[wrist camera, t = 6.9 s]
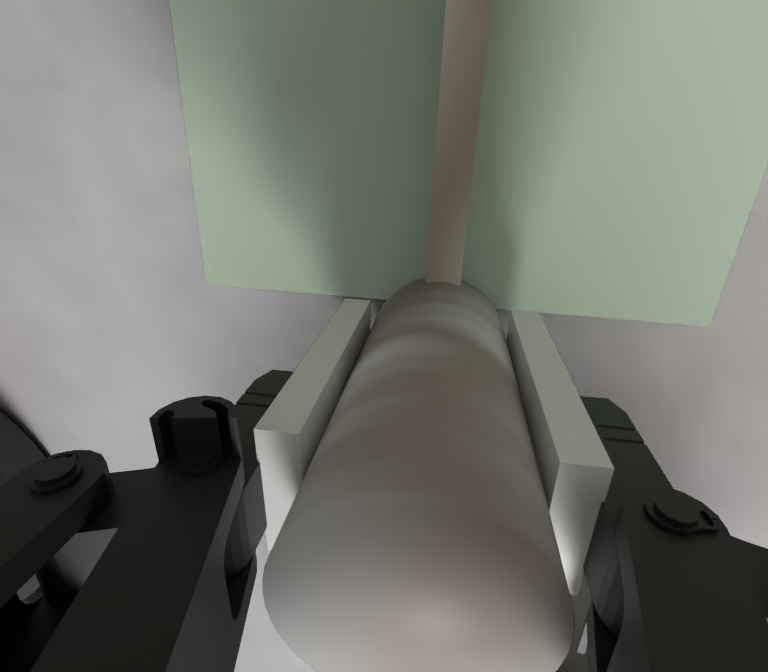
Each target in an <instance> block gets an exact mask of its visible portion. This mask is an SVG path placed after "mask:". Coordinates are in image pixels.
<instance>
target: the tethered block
mask: <svg viewBox="0 0 768 672" xmlns="http://www.w3.org/2000/svg"><path fill="white" fill-rule="evenodd" d="M491 2H492V0H446V10H445V24H444V37H443V50H442V63H441V76H440V89H439V102H438V115H437V129H436V142H435V155H434V168H433V181H432V194H431V207H430V221H429V234H428V247H427V260H426V273H425V277H424V278H420V279H417V280H414V281H411V282H409V283H407V284H405V285H403V286H401V287H400V288H399V289H397V290H396V291H395V292H394V293H393V294H391V295H390V296H389V297H388V299H387V300H386V301H385V303H384V304H383V306H382V307H381V309H380V311H379V313H378V315H377V318H376V320H375V322H374V324H373V326H372V329H371V331H370V333H369V335H368V337H367V340H366V342H365V344H364V346H363V349H362V351H361V353H360V355H359V357H358V360H357V362H356V364H355V366H354V368H353V371H352V373H351V375H350V377H349V379H348V382H347V384H346V386H345V388H344V391H343V393H342V395H341V397H340V399H339V402H338V404H337V406H336V408H335V410H334V413H333V415H332V417H331V419H330V421H329V424H328V426H327V428H326V430H325V433H324V435H323V437H322V439H321V441H320V444H319V446H318V448H317V450H316V452H315V455H314V457H313V459H312V461H311V464H310V466H309V468H308V470H307V472H306V475H305V477H304V479H303V481H302V483H301V486H300V488H299V490H298V492H297V494H296V497H295V499H294V501H293V503H292V506H291V508H290V510H289V512H288V514H287V517H286V519H285V521H284V523H283V525H282V528H281V530H280V532H279V534H278V536H277V539H276V541H275V543H274V545H273V548H272V550H271V552H270V554H269V557H268V559H267V562H266V565H265V568H264V574H263V596H264V601H265V606H266V609H267V612H268V614H269V617H270V619H271V621H272V623H273V625H274V627H275V628H276V630H277V632H278V633H279V635H280V636H281V637H282V639H283V640H284V641H285V643H286V644H287V645H288V646H289V647H290V648H291V649H292V651H293V652H294V653H295V654H296V655H297V656H298V657H300V658H301V659H302V660H303V661H304V662H305V663H306V664H308V665H309V666H310V667H312V668H313V669H314V670H316V671H317V672H556V671H557V670H558V668H559V667H560V665H561V664H562V663H563V661H564V660H565V658H566V656H567V654H568V652H569V650H570V647H571V645H572V641H573V636H574V631H575V615H574V610H573V605H572V600H571V596H570V592H569V589H568V585H567V581H566V577H565V573H564V569H563V565H562V561H561V557H560V553H559V549H558V545H557V541H556V537H555V533H554V529H553V525H552V521H551V517H550V513H549V509H548V505H547V501H546V497H545V493H544V489H543V485H542V481H541V477H540V473H539V469H538V465H537V461H536V457H535V453H534V449H533V445H532V441H531V437H530V433H529V429H528V425H527V421H526V417H525V413H524V409H523V405H522V401H521V397H520V393H519V389H518V385H517V381H516V377H515V373H514V369H513V365H512V361H511V357H510V353H509V349H508V345H507V341H506V337H505V333H504V329H503V325H502V321H501V319H500V316H499V313H498V311H497V310H496V308H495V306H494V305H493V303H492V302H491V301H490V299H489V298H488V297H487V296H486V295H485V294H484V293H483V292H481V291H480V290H479V289H478V288H476V287H474V286H473V285H471V284H469V283H467V282H464V281H462V280H461V275H462V266H463V257H464V248H465V239H466V230H467V221H468V212H469V202H470V193H471V184H472V175H473V166H474V157H475V148H476V139H477V130H478V121H479V111H480V102H481V93H482V84H483V75H484V66H485V57H486V48H487V39H488V30H489V21H490V11H491Z"/></svg>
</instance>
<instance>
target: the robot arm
mask: <svg viewBox="0 0 768 672" xmlns="http://www.w3.org/2000/svg"><path fill="white" fill-rule="evenodd" d="M370 312H371V300H359V299H345V300H344V301H343V302H342V304H341V305H340V307H339V308H338V310H337V311H336V312H335V314H334V315H333V317H332V318H331V320H330V321H329V322H328V324H327V325H326V327H325V328H324V330H323V331H322V332H321V334H320V335H319V337H318V338H317V339H316V341H315V342H314V344H313V345H312V347H311V348H310V349H309V351H308V352H307V354H306V355H305V357H304V358H303V359H302V361H301V362H300V364H299V365H298V367H297V368H296V369H295V371H294V372H290V371H279V370H271V371H270V372H268V373H266V374H264V375H263V376H261V377H259V378H257V379H256V380H255V381H254V382H253V383H252V384H251V386H250V387H249V388H248V389H247V390H246V391H245V394H243V395H242V396H241V397H240V399H239V400H238V401H237V404H236V405H233V403H232V402H231V401H228V400H226V399H224V398H221V397H213V396H199V397H190V398H186V399H183V400H179V401H176V402H173V403H171V404H169V405H167V406H165V407H163V408H161V409H159V410H158V411H157V412H156V413H155V414H154V415H153V416H152V417H151V418H149V419H150V424H151V428H152V432H153V437H154V441H155V446H156V450H157V454H158V459H159V462H158V464H157V465H156V467H155V468H149V469H142V470H133V471H124V472H115V473H109V470H108V466H107V463H106V461H105V459H104V458H103V456H102V455H101V454H99V453H96V452H93V451H91V450H73V451H67V452H62V453H58V454H54V455H52V456H50V457H47V458H46V457H45V456H44V455H43V453H42V452H41V451H40V450H39V448H38V447H37V446H36V445H35V444H34V443H33V442H32V440H31V439H30V438H29V437H28V436H27V435H26V434H25V433H24V432H23V431H22V430H21V429H20V428H19V427H18V426H17V425H16V424H15V423H13V422H12V421H11V420H10V419H9V418H8V417H7V416H5V415H4V414H3V413H2V412H1V411H0V672H234V668H235V664H236V660H237V656H238V651H239V647H240V643H241V638H242V634H243V630H244V625H245V621H246V617H247V612H248V608H249V604H250V599H251V595H252V591H253V586H254V582H255V578H256V573H257V559H256V551H255V550H256V548H257V546H258V544H259V542H260V540H261V538H262V536H263V533H264V531H266V539H267V548H268V551H270V552H271V550H272V548H273V545H274V543H275V541H276V539H277V536H278V534H279V532H280V530H281V528H282V525H283V523H284V521H285V519H286V517H287V514H288V512H289V510H290V508H291V506H292V503H293V501H294V499H295V497H296V494H297V492H298V490H299V488H300V486H301V483H302V481H303V479H304V477H305V475H306V472H307V470H308V468H309V466H310V464H311V461H312V459H313V457H314V455H315V452H316V450H317V448H318V446H319V444H320V441H321V439H322V437H323V435H324V433H325V430H326V428H327V426H328V424H329V421H330V419H331V417H332V415H333V413H334V410H335V408H336V406H337V404H338V402H339V399H340V397H341V395H342V393H343V391H344V388H345V386H346V384H347V382H348V379H349V377H350V375H351V373H352V371H353V368H354V366H355V364H356V362H357V360H358V357H359V355H360V353H361V351H362V349H363V346H364V344H365V342H366V340H367V337H368V335H369V333H370ZM507 345H508V349H509V353H510V357H511V361H512V365H513V369H514V373H515V377H516V381H517V385H518V389H519V393H520V397H521V401H522V405H523V409H524V413H525V417H526V421H527V425H528V429H529V433H530V437H531V441H532V445H533V449H534V453H535V457H536V461H537V465H538V469H539V473H540V477H541V481H542V485H543V489H544V493H545V497H546V501H547V505H548V509H549V513H550V517H551V521H552V525H553V529H554V533H555V537H556V541H557V545H558V549H559V553H560V557H561V561H562V565H563V569H564V573H565V577H566V581H567V585H568V589H569V592H570V595H574V596H578V593H579V590H580V586H581V583H582V579H583V576H584V573H585V576H586V579H587V583H588V586H589V589H590V593H591V596H592V601H591V604H590V607H589V610H588V614H587V617H586V620H585V623H584V627H583V630H582V633H581V636H580V640H579V645H578V650H577V652H578V653H581V654H585V651H586V648H587V645H588V663H589V672H768V549H766V548H763V547H760V546H757V545H754V544H751V543H748V542H745V541H743V540H740V539H738V538H735V537H733V536H730V534H729V532H728V530H727V528H726V527H725V525H724V524H723V522H722V521H721V520H720V518H719V517H718V515H716V514H715V513H714V512H713V511H712V510H710V509H709V508H708V507H707V506H706V505H704V504H703V503H702V502H700V501H698V500H696V499H694V498H693V497H691V496H689V495H687V494H685V493H683V492H680V491H677V490H674V489H673V487H672V486H671V484H670V482H669V481H668V479H667V478H666V476H665V474H664V473H663V471H662V470H661V468H660V466H659V465H658V463H657V462H656V460H655V458H654V457H653V455H652V454H651V452H650V450H649V449H648V447H647V446H646V445H644V441H643V439H642V438H641V436H640V434H639V433H638V431H636V428H635V426H634V425H633V423H632V422H631V420H630V418H629V417H628V415H627V414H626V412H624V411H623V410H622V409H620V408H619V407H618V406H617V405H615V404H614V403H613V402H611V401H610V400H609V399H605V398H594V397H583V396H579V394H578V392H577V390H576V388H575V386H574V384H573V382H572V380H571V378H570V376H569V373H568V371H567V369H566V367H565V365H564V363H563V361H562V359H561V357H560V355H559V353H558V351H557V349H556V347H555V344H554V342H553V340H552V338H551V336H550V334H549V332H548V330H547V328H546V326H545V324H544V322H543V320H542V317H541V315H540V313H539V312H534V311H519V310H511V313H510V320H509V327H508V334H507Z"/></svg>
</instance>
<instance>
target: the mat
mask: <svg viewBox="0 0 768 672" xmlns="http://www.w3.org/2000/svg"><path fill="white" fill-rule="evenodd" d="M169 6H170V14H171V22H172V29H173V37H174V45H175V52H176V60H177V68H178V75H179V83H180V91H181V98H182V106H183V114H184V121H185V129H186V137H187V144H188V152H189V160H190V167H191V175H192V183H193V191H194V198H195V206H196V214H197V221H198V229H199V237H200V244H201V252H202V260H203V267H204V275H205V283H206V285H215V286H227V287H239V288H251V289H263V290H275V291H287V292H299V293H311V294H322V295H334V296H346V297H358V298H370V299H382V300H387V299H388V297H389V296H390V295H391V294H393V293H394V292H395V291H396V290H397V289H399V288H400V287H401V286H403V285H405V284H407V283H409V282H411V281H414V280H417V279H420V278H424V277H425V273H426V260H427V247H428V234H429V221H430V207H431V194H432V181H433V168H434V155H435V142H436V129H437V115H438V102H439V89H440V76H441V63H442V50H443V37H444V24H445V10H446V0H169ZM767 164H768V0H492V2H491V11H490V21H489V30H488V39H487V48H486V57H485V66H484V75H483V84H482V93H481V102H480V111H479V121H478V130H477V139H476V148H475V157H474V166H473V175H472V184H471V193H470V202H469V212H468V221H467V230H466V239H465V248H464V257H463V266H462V275H461V280H462V281H464V282H467V283H469V284H471V285H473V286H474V287H476V288H478V289H479V290H480V291H481V292H483V293H484V294H485V295H486V296H487V297H488V298H489V299H490V301H491V302H492V303H493V305H494V306H495V308H496V309H502V310H519V311H534V312H539V313H550V314H562V315H574V316H586V317H598V318H610V319H622V320H634V321H646V322H658V323H670V324H682V325H694V326H706V327H709V326H710V323H711V320H712V318H713V315H714V312H715V309H716V306H717V304H718V301H719V298H720V295H721V292H722V290H723V287H724V284H725V281H726V279H727V276H728V273H729V270H730V267H731V265H732V262H733V259H734V256H735V253H736V251H737V248H738V245H739V242H740V240H741V237H742V234H743V231H744V228H745V226H746V223H747V220H748V217H749V214H750V212H751V209H752V206H753V203H754V201H755V198H756V195H757V192H758V189H759V187H760V184H761V181H762V178H763V175H764V173H765V170H766V167H767Z"/></svg>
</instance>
